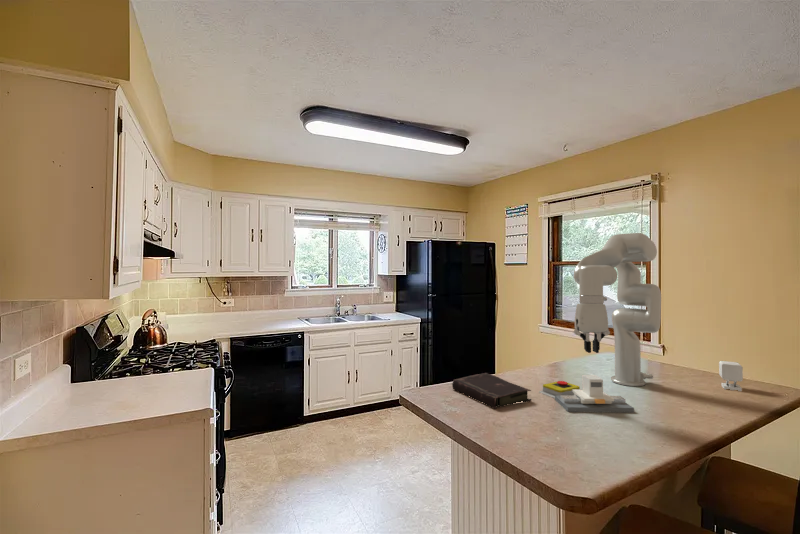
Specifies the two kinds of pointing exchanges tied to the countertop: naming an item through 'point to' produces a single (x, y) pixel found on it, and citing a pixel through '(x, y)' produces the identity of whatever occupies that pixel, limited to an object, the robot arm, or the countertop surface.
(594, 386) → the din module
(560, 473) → the countertop surface
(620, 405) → the rail mount
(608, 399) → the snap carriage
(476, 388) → the diary
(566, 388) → the emergency button
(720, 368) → the security camera
